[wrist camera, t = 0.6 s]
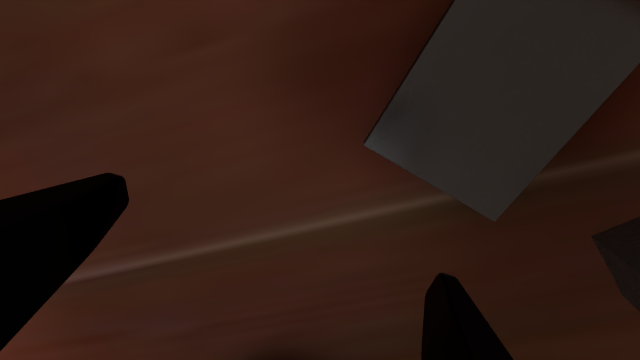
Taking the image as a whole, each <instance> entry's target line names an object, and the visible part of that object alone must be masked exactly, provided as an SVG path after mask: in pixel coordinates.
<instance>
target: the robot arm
mask: <svg viewBox="0 0 640 360" xmlns="http://www.w3.org/2000/svg"><path fill="white" fill-rule="evenodd" d="M128 202H129V196H128V191H127V186H126V181H125V179H124V178H123V177H122V176H119V175H116V174H113V173H104V174H100V175H96V176H92V177H89V178H85V179H81V180H77V181H73V182H69V183H65V184H61V185H57V186H53V187H49V188H46V189H42V190H38V191H34V192H30V193H26V194H22V195H18V196H14V197H10V198H6V199H3V200H0V351H1V350H2V349H3V348H4V347H5V346H6V345H7V343H8V342H9V341H10V340H11V339H12V338H13V337H14V336H15V335H16V334H17V333H18V332H19V331H20V329H21V328H22V327H23V326H24V325H25V324H26V323H27V322H28V321H29V320H30V319H31V318H32V316H33V315H34V314H35V313H36V312H37V311H38V310H39V309H40V308H41V307H42V306H43V305H44V304H45V302H46V301H47V300H48V299H49V298H50V297H51V296H52V295H53V294H54V293H55V292H56V291H57V290H58V288H59V287H60V286H61V285H62V284H63V283H64V282H65V281H66V280H67V279H68V278H69V277H70V275H71V274H72V273H73V272H74V271H75V270H76V269H77V268H78V267H79V266H80V265H81V264H82V263H83V261H84V260H85V259H86V258H87V257H88V256H89V255H90V254H91V253H92V251H93V250H94V249H95V248H96V247H97V245H98V244H99V243H100V242H101V240H102V239H103V238H104V236H105V235H106V234H107V232H108V231H109V230H110V228H111V227H112V226H113V224H114V223H115V222H116V220H117V219H118V218H119V216H120V215H121V214H122V212H123V211H124V210H125V209H126V207H127V205H128ZM421 360H513V358H512V357H511V355H510V354H509V353H508V351H507V350H506V348H505V347H504V345H503V344H502V343H501V341H500V340H499V338H498V337H497V335H496V334H495V332H494V331H493V330H492V328H491V327H490V325H489V324H488V322H487V321H486V319H485V318H484V317H483V315H482V314H481V312H480V311H479V309H478V308H477V307H476V305H475V304H474V302H473V301H472V299H471V298H470V296H469V295H468V294H467V292H466V291H465V289H464V288H463V286H462V285H461V284H460V282H459V281H458V279H457V278H456V277H454V276H451V275H448V274H445V273H439V274H438V275H437V276H436V278H435V279H434V281H433V282H432V284H431V286H430V287H429V289H428V290H427V292H426V296H425V304H424V320H423V335H422V352H421Z"/></svg>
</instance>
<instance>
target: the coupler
mask: <svg viewBox="0 0 640 360" xmlns="http://www.w3.org/2000/svg"><path fill="white" fill-rule="evenodd" d="M639 63H640V0H453V1H452V2H451V4H450V5H449V7H448V9H447V10H446V12H445V13H444V15H443V17H442V18H441V20H440V21H439V23H438V24H437V26H436V28H435V29H434V31H433V32H432V34H431V36H430V37H429V39H428V40H427V42H426V44H425V45H424V47H423V48H422V50H421V52H420V53H419V55H418V56H417V58H416V60H415V61H414V63H413V64H412V66H411V67H410V69H409V71H408V72H407V74H406V75H405V77H404V79H403V80H402V82H401V83H400V85H399V87H398V88H397V90H396V91H395V93H394V95H393V96H392V98H391V99H390V101H389V103H388V104H387V106H386V107H385V109H384V111H383V112H382V114H381V115H380V117H379V118H378V120H377V122H376V123H375V125H374V126H373V128H372V130H371V131H370V133H369V134H368V136H367V138H366V139H365V141H364V145H365V146H366V147H368V148H370V149H371V150H373V151H375V152H376V153H378V154H380V155H382V156H383V157H385V158H387V159H388V160H390V161H392V162H394V163H395V164H397V165H399V166H400V167H402V168H404V169H405V170H407V171H409V172H411V173H412V174H414V175H416V176H417V177H419V178H421V179H422V180H424V181H426V182H428V183H429V184H431V185H433V186H434V187H436V188H438V189H439V190H441V191H443V192H445V193H446V194H448V195H450V196H451V197H453V198H455V199H456V200H458V201H460V202H462V203H463V204H465V205H467V206H468V207H470V208H472V209H473V210H475V211H477V212H479V213H480V214H482V215H484V216H485V217H487V218H489V219H490V220H492V221H494V222H495V221H496V219H497V218H498V217H499V216H500V215H501V214H502V213H503V212H504V211H505V210H506V209H507V207H508V206H509V205H510V204H511V203H512V202H513V201H514V200H515V199H516V198H517V197H518V195H519V194H520V193H521V192H522V191H523V190H524V189H525V188H526V187H527V186H528V184H529V183H530V182H531V181H532V180H533V179H534V178H535V177H536V176H537V175H538V174H539V172H540V171H541V170H542V169H543V168H544V167H545V166H546V165H547V164H548V163H549V162H550V160H551V159H552V158H553V157H554V156H555V155H556V154H557V153H558V152H559V151H560V149H561V148H562V147H563V146H564V145H565V144H566V143H567V142H568V141H569V140H570V139H571V137H572V136H573V135H574V134H575V133H576V132H577V131H578V130H579V129H580V128H581V127H582V125H583V124H584V123H585V122H586V121H587V120H588V119H589V118H590V117H591V116H592V114H593V113H594V112H595V111H596V110H597V109H598V108H599V107H600V106H601V105H602V104H603V102H604V101H605V100H606V99H607V98H608V97H609V96H610V95H611V94H612V93H613V92H614V90H615V89H616V88H617V87H618V86H619V85H620V84H621V83H622V82H623V81H624V80H625V78H626V77H627V76H628V75H629V74H630V73H631V72H632V71H633V70H634V69H635V67H636V66H637V65H638V64H639Z"/></svg>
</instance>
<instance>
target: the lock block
mask: <svg viewBox="0 0 640 360" xmlns="http://www.w3.org/2000/svg"><path fill="white" fill-rule="evenodd" d="M592 238H593V240H594V242H595V244H596V246H597V248H598V249H599V251H600V253H601V255H602V257H603V259H604V261H605V263H606V265H607V267H608V269H609V270H610V272H611V274H612V276H613V278H614V280H615V282H616V284H617V286H618V288H619V289H620V291H621V293H622V295H623V296H624V297H625V298H626V299H627V300H628V301H629V302H630V303H631V304H632V305H633V306H634V307H635V308H637V309H638V310H639V311H640V217H638V218H636V219H633V220H631V221H628V222H626V223H623V224H621V225H619V226H616V227H614V228H611V229H609V230H606V231H604V232H601V233H599V234H596V235H594V236H592Z"/></svg>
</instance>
